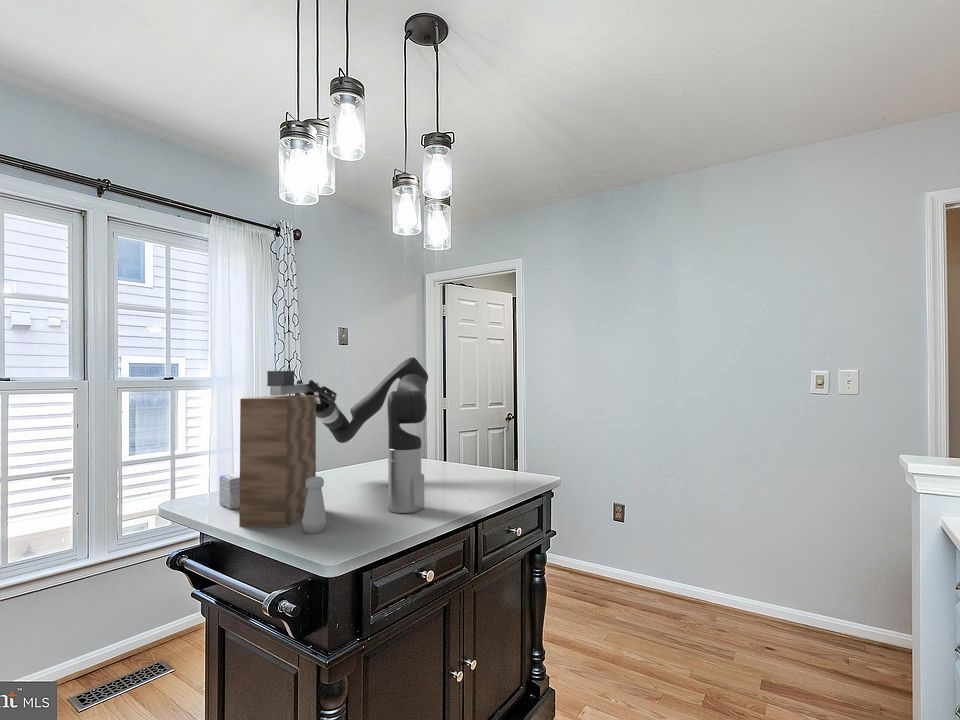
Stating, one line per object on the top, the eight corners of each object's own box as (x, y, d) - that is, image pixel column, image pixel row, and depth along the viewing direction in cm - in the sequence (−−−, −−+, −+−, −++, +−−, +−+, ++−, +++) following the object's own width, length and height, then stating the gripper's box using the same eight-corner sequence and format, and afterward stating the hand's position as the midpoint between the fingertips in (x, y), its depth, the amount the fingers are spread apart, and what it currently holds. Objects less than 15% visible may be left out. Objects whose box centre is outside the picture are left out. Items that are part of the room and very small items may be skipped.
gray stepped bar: (307, 390, 159) (307, 370, 159) (321, 390, 158) (321, 370, 158) (267, 395, 135) (267, 371, 135) (283, 395, 134) (283, 371, 134)
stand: (275, 507, 146) (275, 395, 147) (315, 508, 145) (315, 395, 146) (239, 526, 128) (240, 398, 129) (284, 527, 127) (285, 398, 128)
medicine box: (245, 506, 147) (245, 476, 147) (229, 510, 143) (229, 479, 144) (234, 502, 152) (234, 473, 152) (218, 505, 149) (219, 475, 149)
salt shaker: (312, 536, 120) (312, 480, 120) (296, 532, 123) (296, 478, 123) (331, 529, 125) (332, 476, 125) (316, 526, 128) (316, 474, 128)
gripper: (306, 397, 169) (284, 371, 154) (347, 397, 167) (329, 371, 153) (301, 418, 165) (278, 393, 150) (343, 418, 164) (324, 393, 149)
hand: (304, 382), depth 152 cm, fingers closed on gray stepped bar, 3 cm apart
